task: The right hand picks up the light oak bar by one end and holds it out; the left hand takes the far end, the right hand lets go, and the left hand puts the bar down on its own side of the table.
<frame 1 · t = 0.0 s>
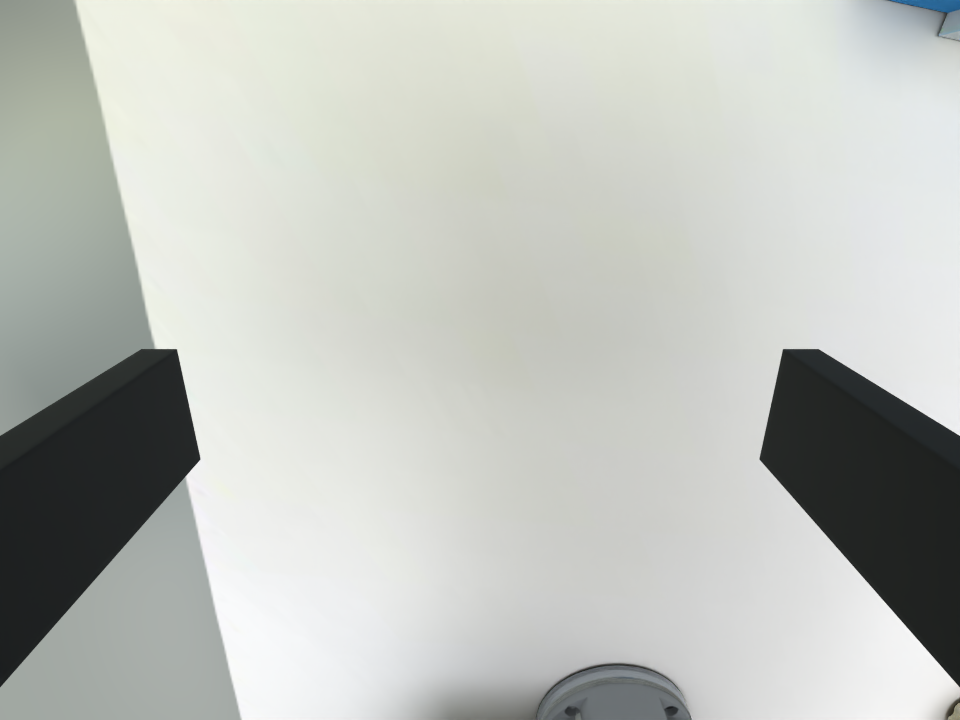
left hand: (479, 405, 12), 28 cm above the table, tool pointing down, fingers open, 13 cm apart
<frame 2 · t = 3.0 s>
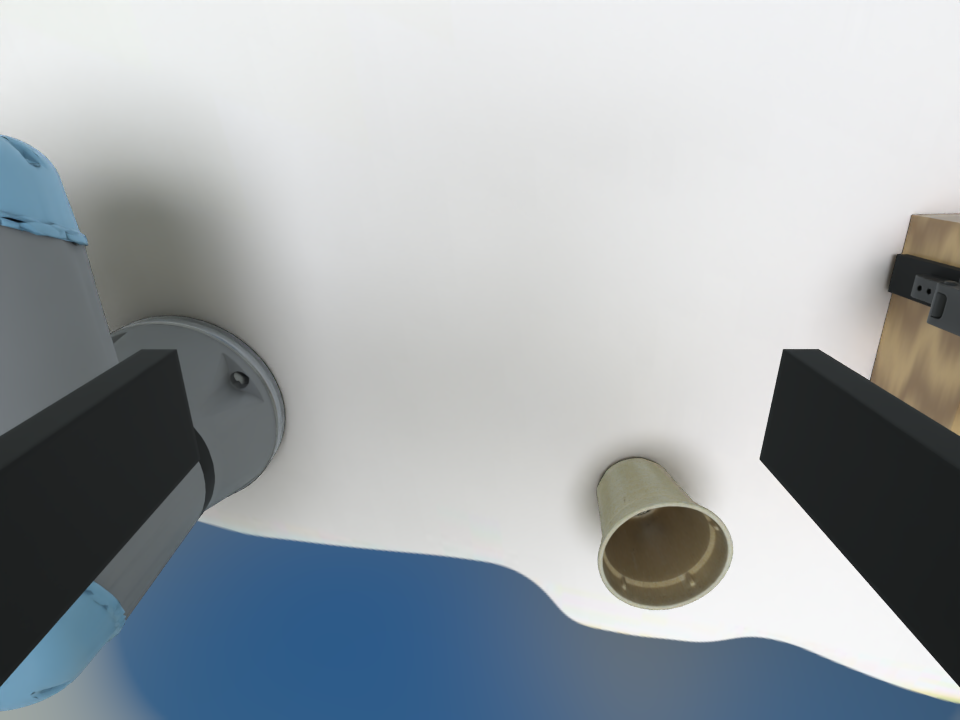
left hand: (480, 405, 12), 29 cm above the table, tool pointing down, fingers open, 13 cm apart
bar: (902, 372, 43), on the table, touching right hand
flower pot: (633, 486, 47), on the table
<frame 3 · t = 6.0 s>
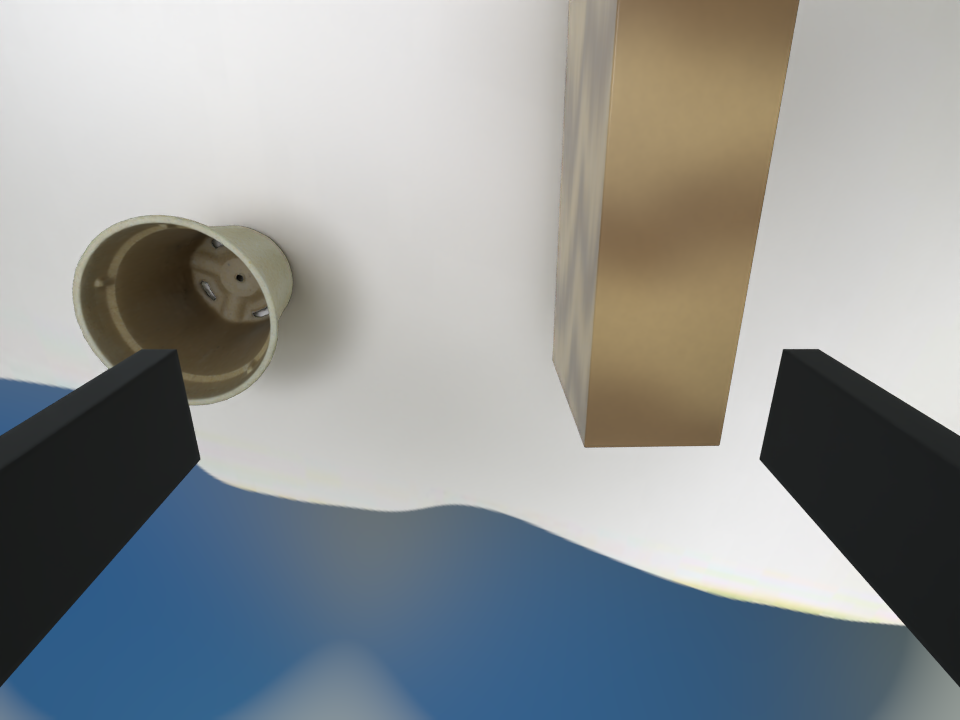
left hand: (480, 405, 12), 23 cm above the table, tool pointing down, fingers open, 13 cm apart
bar: (624, 80, 22), point 10 cm above the table, touching right hand
flower pot: (245, 273, 34), on the table
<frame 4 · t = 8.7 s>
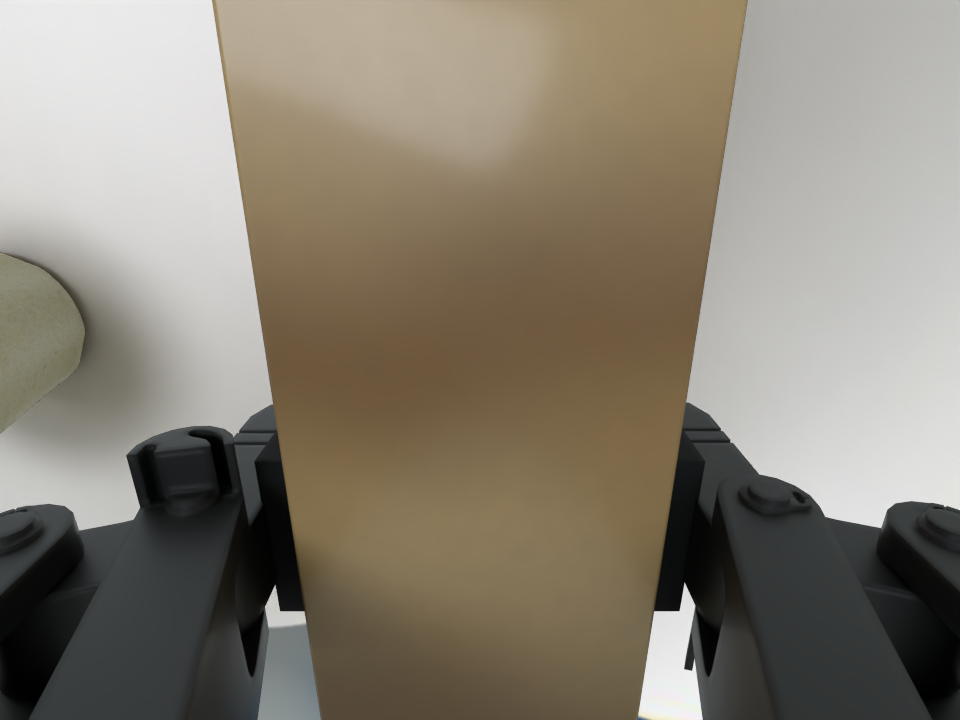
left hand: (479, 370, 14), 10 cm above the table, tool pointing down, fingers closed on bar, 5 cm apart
bar: (480, 8, 12), point 10 cm above the table, touching left hand, right hand
flower pot: (20, 318, 24), on the table
when the right hand's fingers open (10 cm above the table, at t = 9.2 s): bar stays where it is, held by the left hand.
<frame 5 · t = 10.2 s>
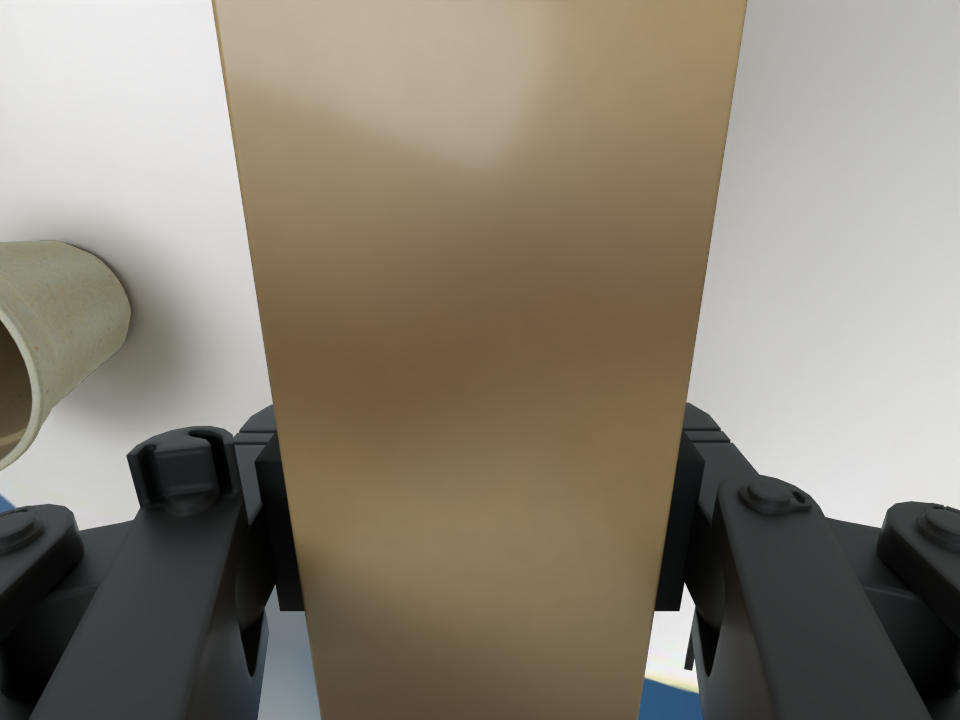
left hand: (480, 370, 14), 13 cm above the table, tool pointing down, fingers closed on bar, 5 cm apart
bar: (480, 8, 12), point 13 cm above the table, touching left hand
flower pot: (73, 300, 27), on the table
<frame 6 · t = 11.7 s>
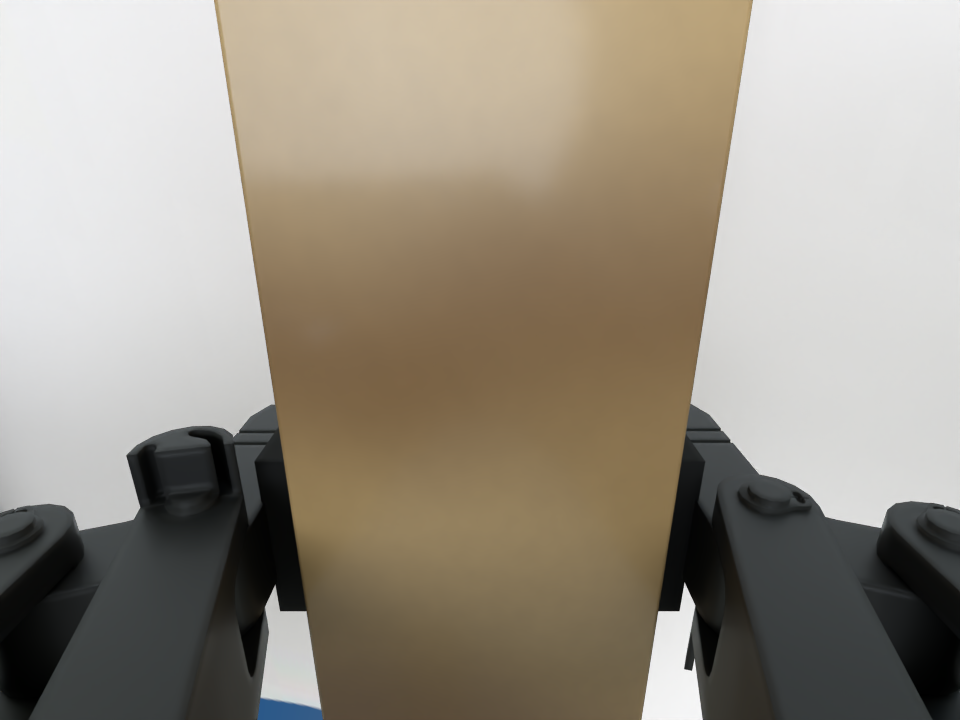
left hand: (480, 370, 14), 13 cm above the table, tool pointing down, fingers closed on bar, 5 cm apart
bar: (482, 7, 12), point 12 cm above the table, touching left hand
when the left hand's fingers open (3 cm above the table, at t = 14.8 s): bar drops 2 cm, on the table.
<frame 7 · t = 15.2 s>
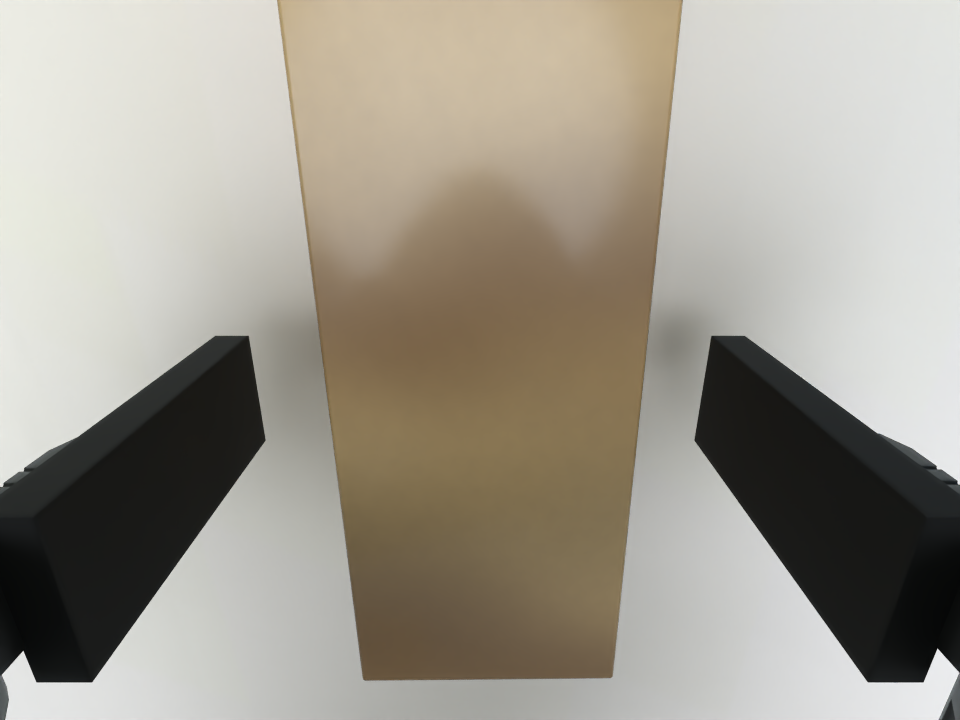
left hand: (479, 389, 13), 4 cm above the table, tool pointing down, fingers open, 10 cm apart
bar: (479, 26, 13), on the table
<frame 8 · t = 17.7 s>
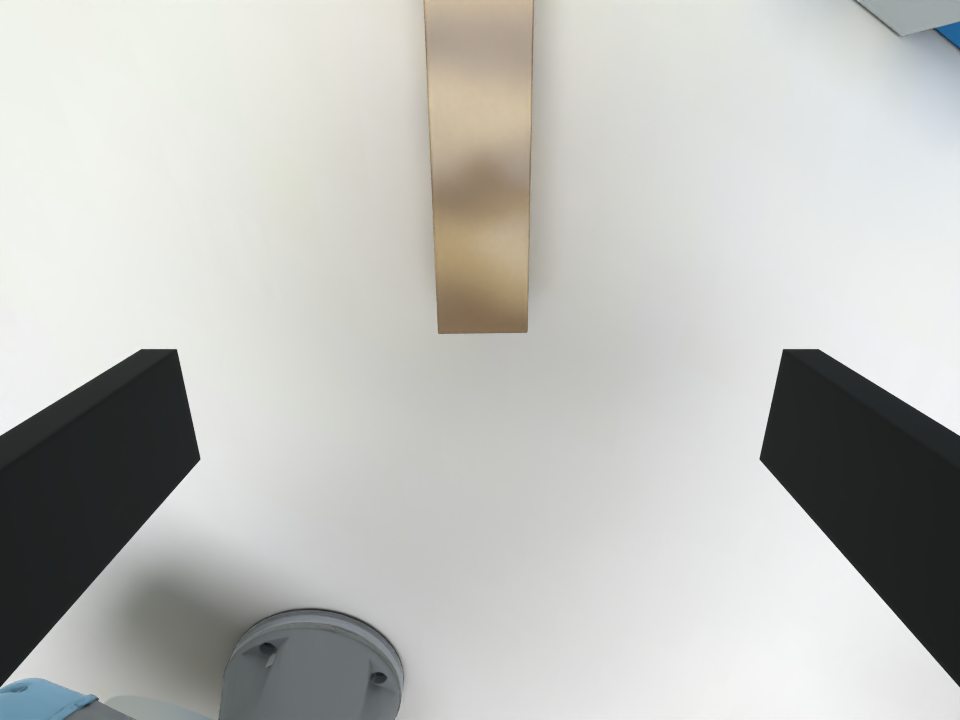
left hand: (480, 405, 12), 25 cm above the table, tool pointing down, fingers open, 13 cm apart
bar: (479, 93, 32), on the table
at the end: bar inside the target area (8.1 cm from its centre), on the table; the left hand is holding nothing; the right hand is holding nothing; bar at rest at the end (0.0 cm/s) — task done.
